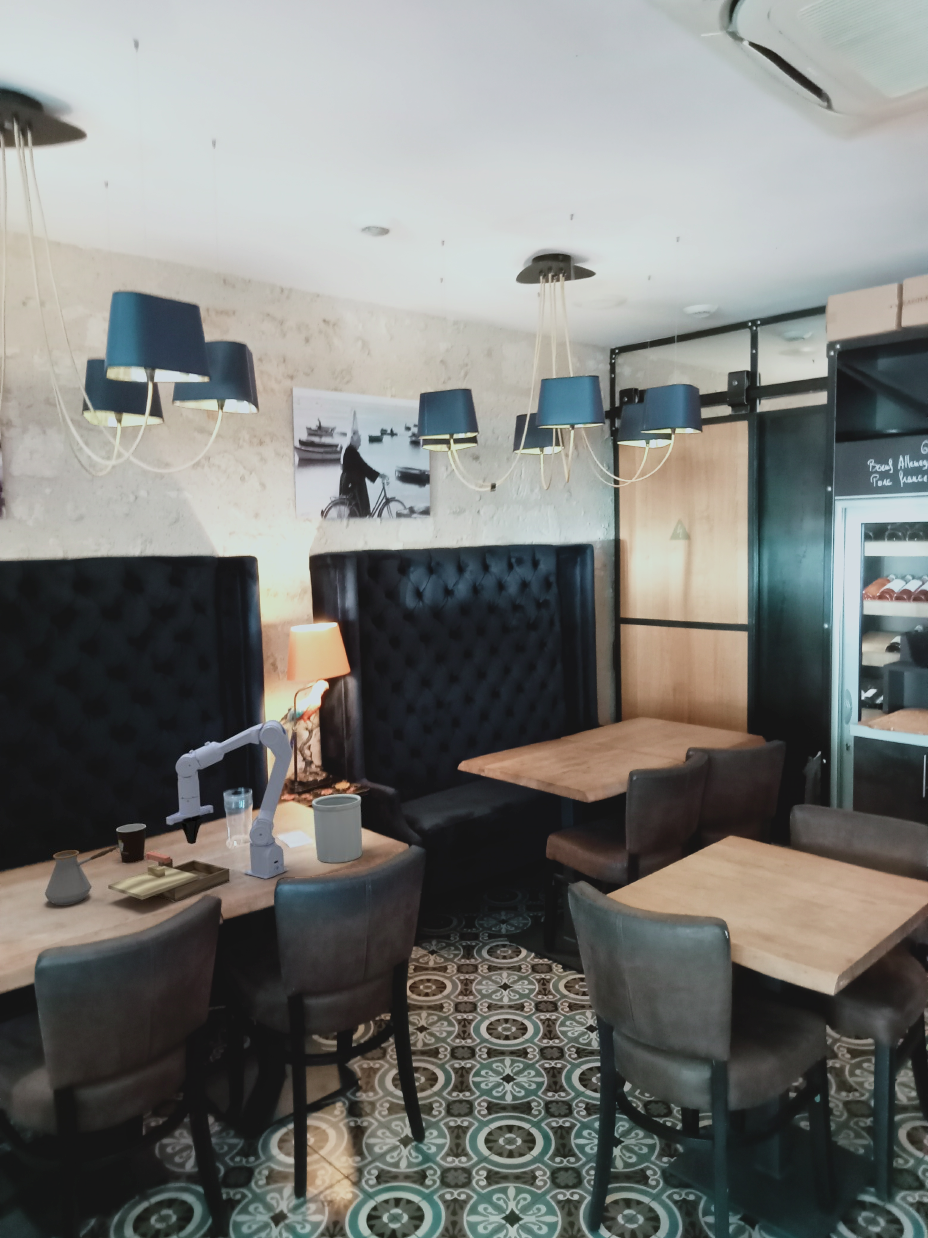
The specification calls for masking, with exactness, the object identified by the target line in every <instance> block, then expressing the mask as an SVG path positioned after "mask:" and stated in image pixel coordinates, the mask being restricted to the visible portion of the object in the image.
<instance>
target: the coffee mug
mask: <svg viewBox="0 0 928 1238" xmlns="http://www.w3.org/2000/svg"><path fill="white" fill-rule="evenodd" d="M146 829H147V826H146V824H143V823H133V824H125V825H122V826H119V827H117V828H116V837H117V841H118V846H119V853H120V852H121V853H120V856H121V857H120V859H121V862H122V863H124V864H125V863H126V864H132V863H137V862H140V861H141V862H142V861H143V860H144V859H145V845H146V832H147V831H146ZM120 847H121V848H120ZM121 849H122V851H121Z"/></svg>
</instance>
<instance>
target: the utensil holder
mask: <svg viewBox="0 0 928 1238" xmlns="http://www.w3.org/2000/svg"><path fill="white" fill-rule="evenodd" d="M361 802H362V797H361V796H360V795H358V794H353V793H339V794H337V793H336V794H330V795H325V796H320V797H317V798H314V799H313V800H312V802H311V806H312V809H313V822H314V837H315V847H316V856H317V860H319V861H320V862H322V863H323V862H324V863H328V864H332V863H333V864H338V863H339V864H341V863H346V862H352V861H354V860H356V859H358V858H360V857H361V856H362V855H363V837H362V836H363V835H362V812H361V810H362V809H361V807H362V806H361V804H362V803H361Z"/></svg>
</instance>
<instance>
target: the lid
mask: <svg viewBox="0 0 928 1238" xmlns="http://www.w3.org/2000/svg"><path fill="white" fill-rule="evenodd" d="M197 879H198V875H195V874H191V873H188V872H184V871H180V870H177V869H173V868H169V867H166V866H163V867H161V866H158V865H156V864H151V865H148V866H147V871H146V872H143V873H139V874H137V875H134V876H131V877H128V878H125V879H122V880H118V881H116V882H114V883H110V884H108V888H107V889H108V890H111V891H114V892H118V893H121V894H124V895H127V896H129V897H134V898H136V899H140V900H145V899H147V898H149V897H153V896H156V894H159V893H161V892H164V891H167V890H170V889H172V888H175V887H178V886H180V885H183V884H186V883H189V882H191V881H194V880H197Z"/></svg>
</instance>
